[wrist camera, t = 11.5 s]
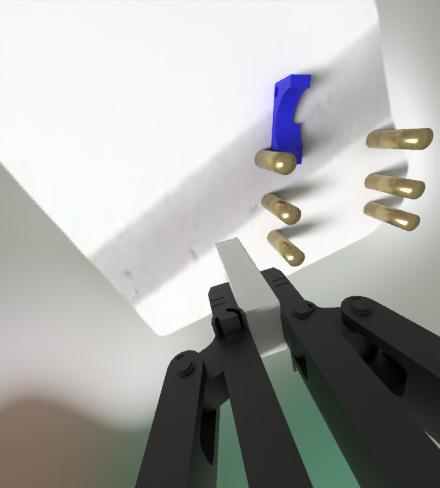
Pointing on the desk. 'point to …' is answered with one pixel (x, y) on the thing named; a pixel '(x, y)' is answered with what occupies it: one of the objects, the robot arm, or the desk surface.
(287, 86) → the blue curved block
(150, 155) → the desk surface
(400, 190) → the spacers
